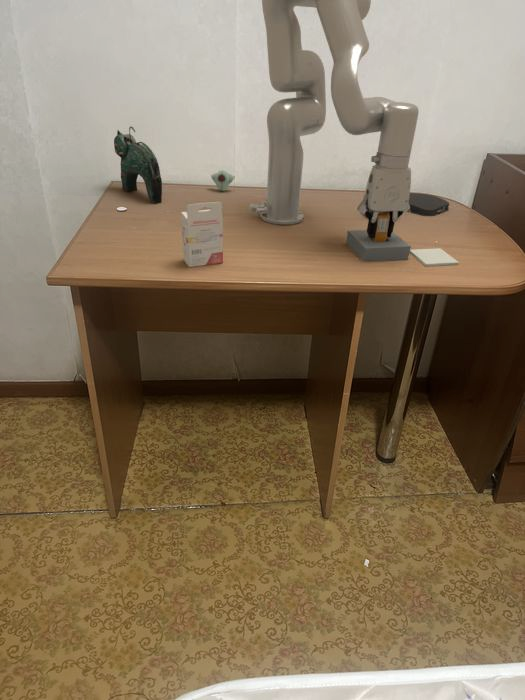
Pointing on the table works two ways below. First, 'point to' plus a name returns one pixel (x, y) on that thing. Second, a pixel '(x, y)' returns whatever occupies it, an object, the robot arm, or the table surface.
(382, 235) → the supplement box
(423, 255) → the rubber mat
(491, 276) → the table surface
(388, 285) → the table surface
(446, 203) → the media streaming box
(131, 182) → the ceramic cat
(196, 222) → the ink cartridge box
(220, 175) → the valved respirator
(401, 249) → the pocket block
